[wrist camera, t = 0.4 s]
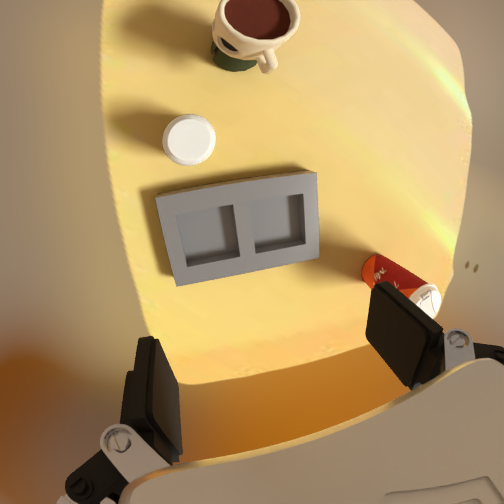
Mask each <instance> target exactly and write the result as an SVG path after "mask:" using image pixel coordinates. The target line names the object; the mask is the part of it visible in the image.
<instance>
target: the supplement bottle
mask: <svg viewBox="0 0 504 504" xmlns="http://www.w3.org/2000/svg"><path fill="white" fill-rule="evenodd" d="M215 142H216V135H215V131H214V128H213V126H212V125H211V123H210V122H209V121H208V120H207V119H205V118H204V117H202V116H199V115H196V114H185V115H181V116H179V117H177V118H175V119H174V120H172V121H171V122H170V123H169V124H168V126H167V127H166V129H165V131H164V133H163V138H162V144H163V149H164V151H165V153H166V155H167V156H168V157H169V158H170V159H171V160H172V161H173V162H175V163H177V164H180V165H185V166H191V165H196V164H199V163H201V162H203V161H204V160H205V159H207V158H208V157H209V156H210V154H211V153H212V151H213V149H214V147H215Z"/></svg>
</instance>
